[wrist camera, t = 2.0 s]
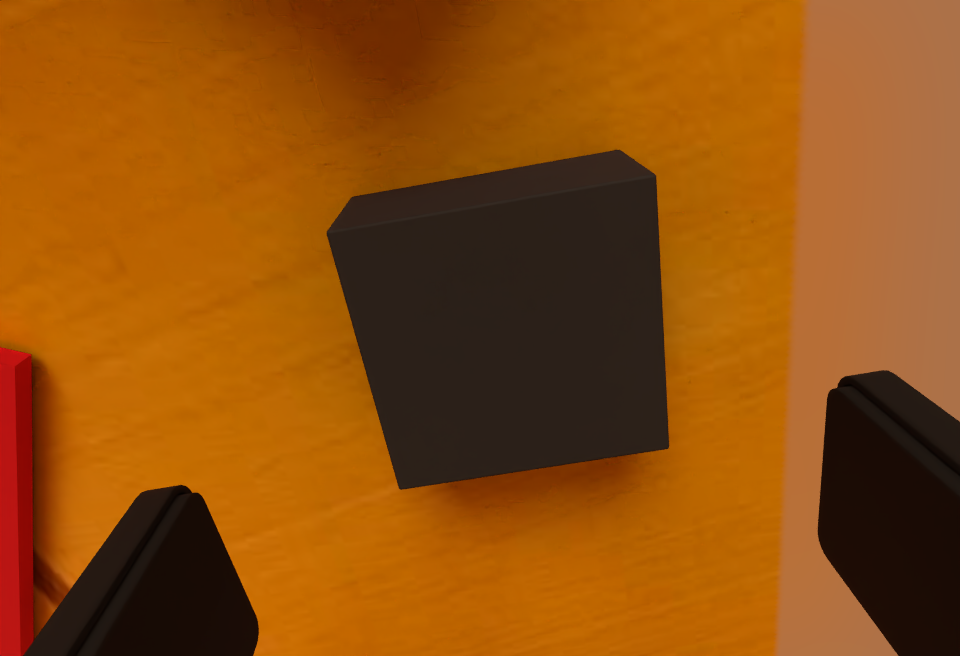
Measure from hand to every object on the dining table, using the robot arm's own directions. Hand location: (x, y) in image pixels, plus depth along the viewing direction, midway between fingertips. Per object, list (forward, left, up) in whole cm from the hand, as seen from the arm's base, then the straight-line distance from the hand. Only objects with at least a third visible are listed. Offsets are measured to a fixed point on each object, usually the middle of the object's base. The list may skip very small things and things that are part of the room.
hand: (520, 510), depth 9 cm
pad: (0, 0, -8) cm, 8 cm away
